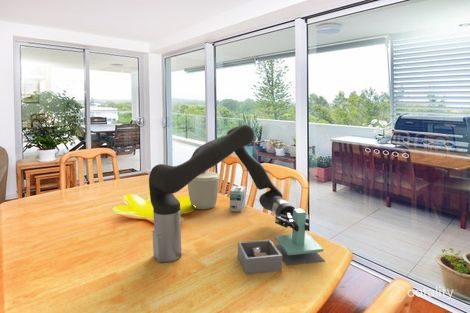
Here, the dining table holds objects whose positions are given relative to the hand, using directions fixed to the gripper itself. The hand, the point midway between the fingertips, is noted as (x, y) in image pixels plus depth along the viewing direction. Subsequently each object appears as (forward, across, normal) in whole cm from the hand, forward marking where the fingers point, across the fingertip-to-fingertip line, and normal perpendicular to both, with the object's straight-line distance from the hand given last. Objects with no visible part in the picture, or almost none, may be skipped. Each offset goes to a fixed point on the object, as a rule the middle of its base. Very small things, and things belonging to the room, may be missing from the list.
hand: (302, 228), depth 107 cm
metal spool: (-2, -16, +11) cm, 19 cm away
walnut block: (+4, -16, +11) cm, 19 cm away
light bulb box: (-56, -10, +12) cm, 59 cm away
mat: (-3, 0, +12) cm, 12 cm away
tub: (+1, -16, +12) cm, 20 cm away
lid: (-3, 0, +8) cm, 8 cm away
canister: (-62, -27, +12) cm, 69 cm away
